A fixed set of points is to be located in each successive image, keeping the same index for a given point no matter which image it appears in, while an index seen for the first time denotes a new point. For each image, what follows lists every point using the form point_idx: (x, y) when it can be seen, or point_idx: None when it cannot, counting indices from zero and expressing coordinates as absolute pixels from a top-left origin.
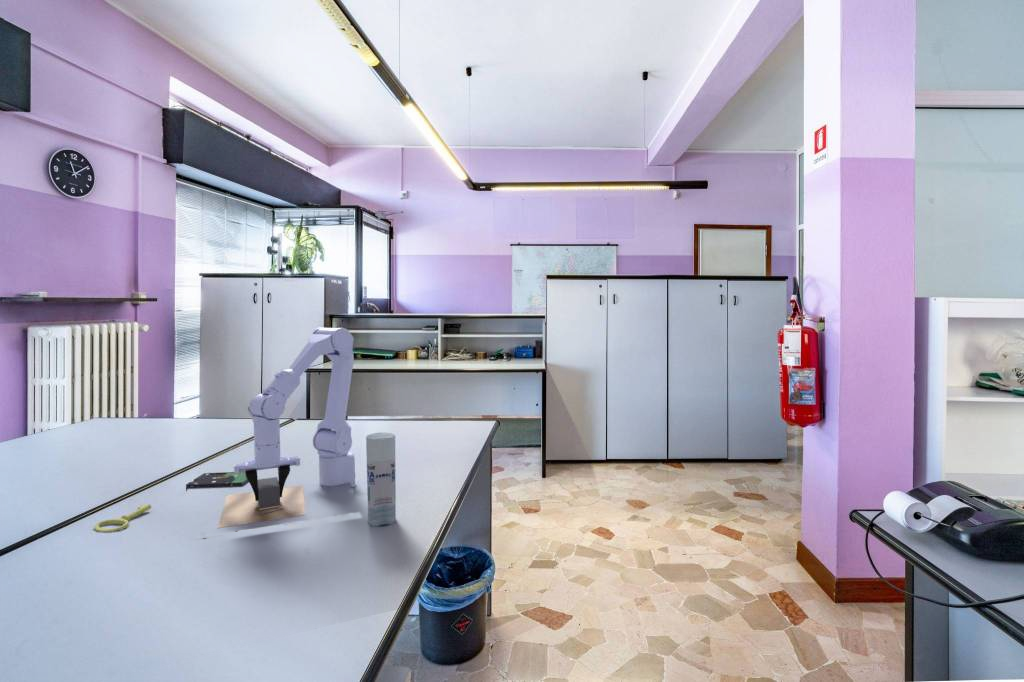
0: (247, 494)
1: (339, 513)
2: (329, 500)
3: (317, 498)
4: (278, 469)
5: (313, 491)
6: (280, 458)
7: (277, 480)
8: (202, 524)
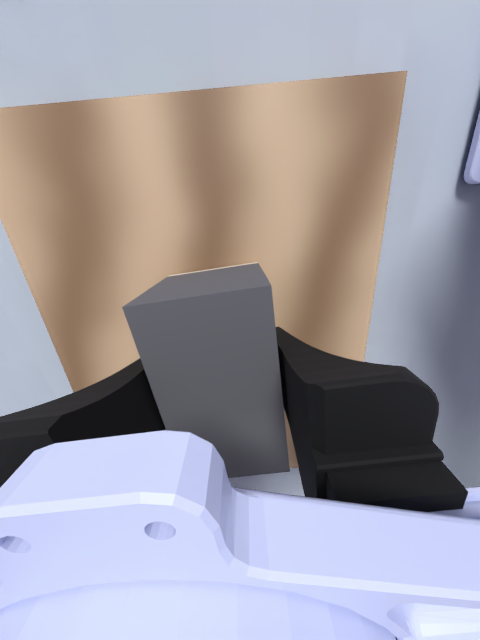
0: (84, 149)
1: (439, 437)
2: (456, 318)
3: (422, 276)
4: (307, 441)
5: (436, 151)
6: (419, 571)
7: (276, 373)
8: (39, 395)
